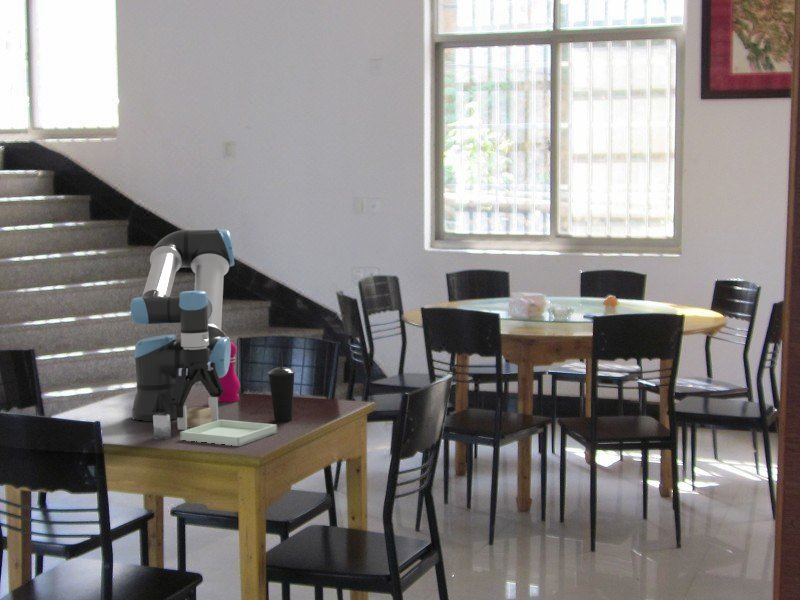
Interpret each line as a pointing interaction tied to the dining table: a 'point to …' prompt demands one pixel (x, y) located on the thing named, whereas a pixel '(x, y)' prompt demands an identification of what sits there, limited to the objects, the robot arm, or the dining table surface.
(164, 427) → the cylinder
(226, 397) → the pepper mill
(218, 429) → the tray
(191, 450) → the dining table surface
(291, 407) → the drinking cup
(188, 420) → the beech block
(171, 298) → the robot arm
